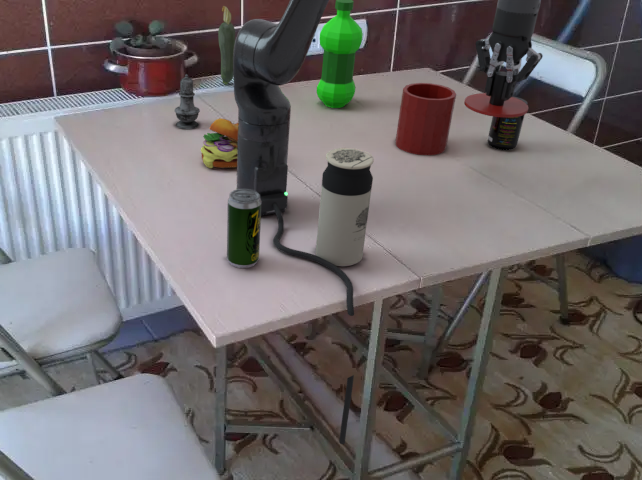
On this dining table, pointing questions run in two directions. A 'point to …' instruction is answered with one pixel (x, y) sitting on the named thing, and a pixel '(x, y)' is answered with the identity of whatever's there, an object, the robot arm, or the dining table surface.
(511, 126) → the supplement container
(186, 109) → the salt shaker
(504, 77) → the lid
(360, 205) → the travel mug
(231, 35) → the vegetable
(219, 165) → the cheeseburger
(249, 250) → the beer can
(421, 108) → the canister
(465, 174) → the dining table surface
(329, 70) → the plastic bottle
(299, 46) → the robot arm
